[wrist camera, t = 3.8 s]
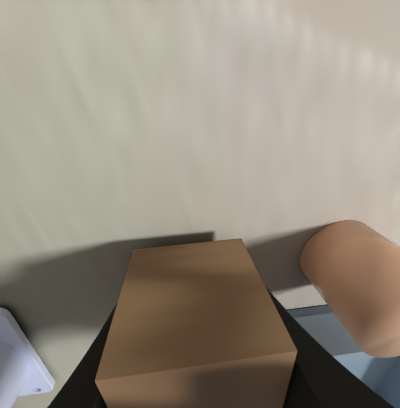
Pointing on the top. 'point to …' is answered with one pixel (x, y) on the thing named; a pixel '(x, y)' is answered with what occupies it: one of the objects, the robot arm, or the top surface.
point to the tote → (351, 352)
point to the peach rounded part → (358, 282)
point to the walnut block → (195, 332)
